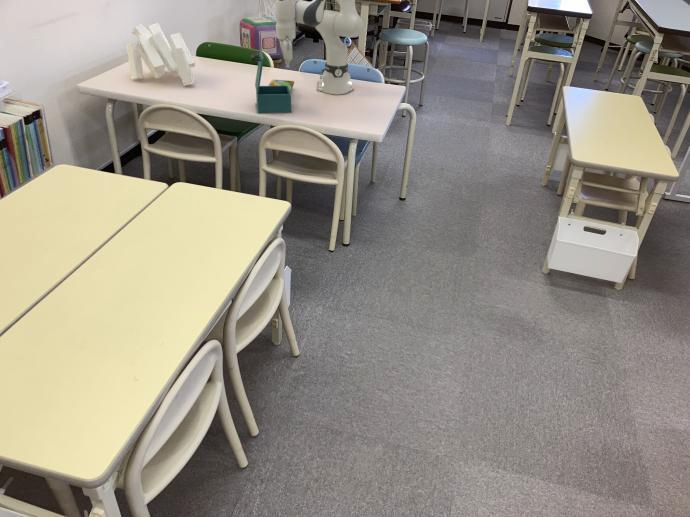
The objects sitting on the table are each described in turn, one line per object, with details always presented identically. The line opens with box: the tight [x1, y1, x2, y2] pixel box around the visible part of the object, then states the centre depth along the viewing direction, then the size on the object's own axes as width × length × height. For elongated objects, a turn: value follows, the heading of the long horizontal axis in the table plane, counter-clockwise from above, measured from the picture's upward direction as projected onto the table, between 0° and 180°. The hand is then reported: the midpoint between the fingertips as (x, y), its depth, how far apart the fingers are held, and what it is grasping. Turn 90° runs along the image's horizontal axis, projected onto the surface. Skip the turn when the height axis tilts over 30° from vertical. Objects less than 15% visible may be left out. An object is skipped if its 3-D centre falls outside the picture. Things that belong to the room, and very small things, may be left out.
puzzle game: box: [268, 78, 295, 93], centre depth 283 cm, size 12×5×20 cm
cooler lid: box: [250, 50, 265, 94], centre depth 256 cm, size 16×13×5 cm
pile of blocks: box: [125, 22, 196, 87], centre depth 287 cm, size 35×30×35 cm
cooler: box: [255, 85, 292, 114], centre depth 266 cm, size 16×13×9 cm
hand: (286, 64), depth 258 cm, fingers open, 8 cm apart
